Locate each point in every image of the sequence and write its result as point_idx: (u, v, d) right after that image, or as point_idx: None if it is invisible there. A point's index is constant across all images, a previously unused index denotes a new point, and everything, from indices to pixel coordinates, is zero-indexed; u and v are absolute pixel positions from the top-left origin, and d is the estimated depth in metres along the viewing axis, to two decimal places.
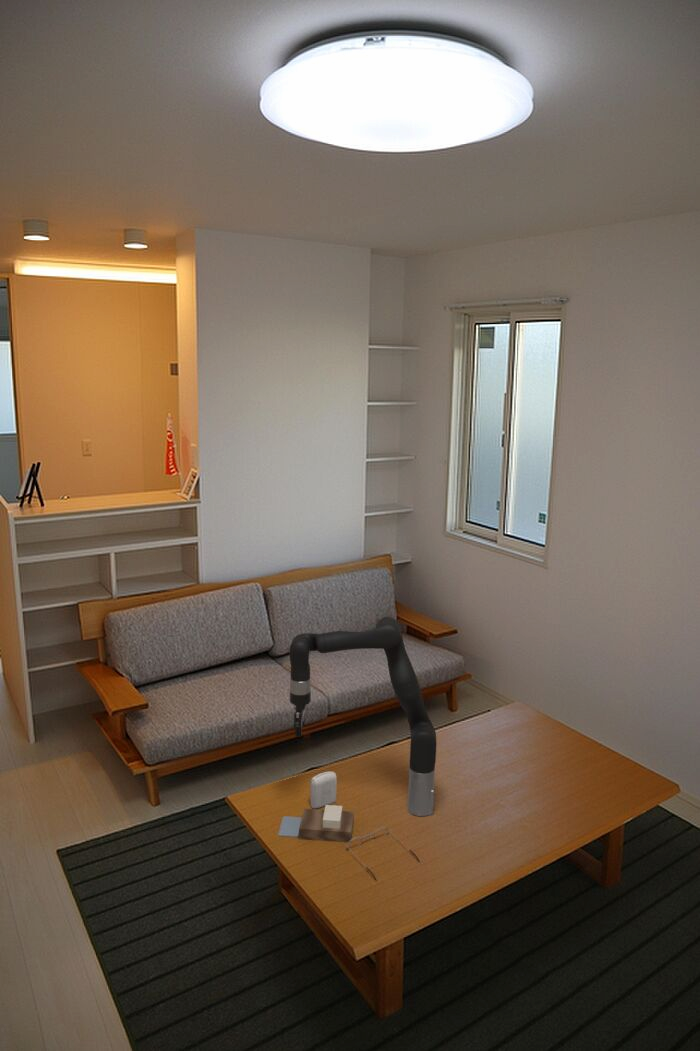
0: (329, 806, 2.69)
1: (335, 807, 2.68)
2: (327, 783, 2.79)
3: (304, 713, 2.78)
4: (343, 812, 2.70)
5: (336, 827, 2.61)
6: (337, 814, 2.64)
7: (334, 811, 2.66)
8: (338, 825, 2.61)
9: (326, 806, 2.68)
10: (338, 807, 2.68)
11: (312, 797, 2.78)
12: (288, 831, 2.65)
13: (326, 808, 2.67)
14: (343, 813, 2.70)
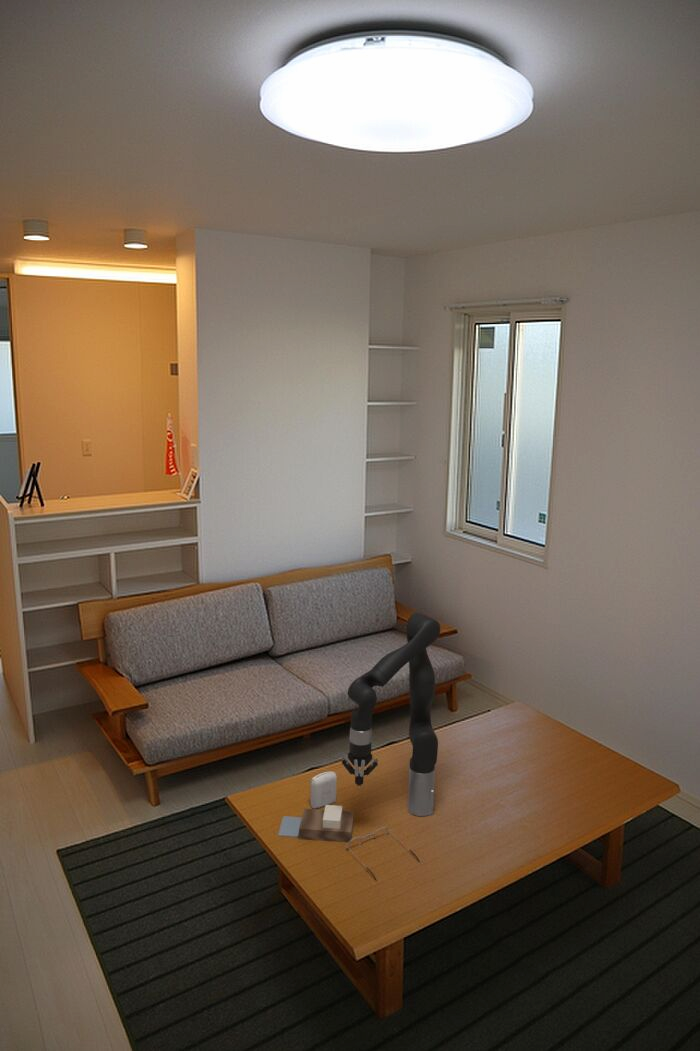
0: (329, 806, 2.69)
1: (335, 807, 2.68)
2: (327, 783, 2.79)
3: (358, 767, 2.62)
4: (343, 812, 2.70)
5: (336, 827, 2.61)
6: (337, 814, 2.64)
7: (334, 811, 2.66)
8: (338, 825, 2.61)
9: (326, 806, 2.68)
10: (338, 807, 2.68)
11: (312, 797, 2.78)
12: (288, 831, 2.65)
13: (326, 808, 2.67)
14: (343, 813, 2.70)
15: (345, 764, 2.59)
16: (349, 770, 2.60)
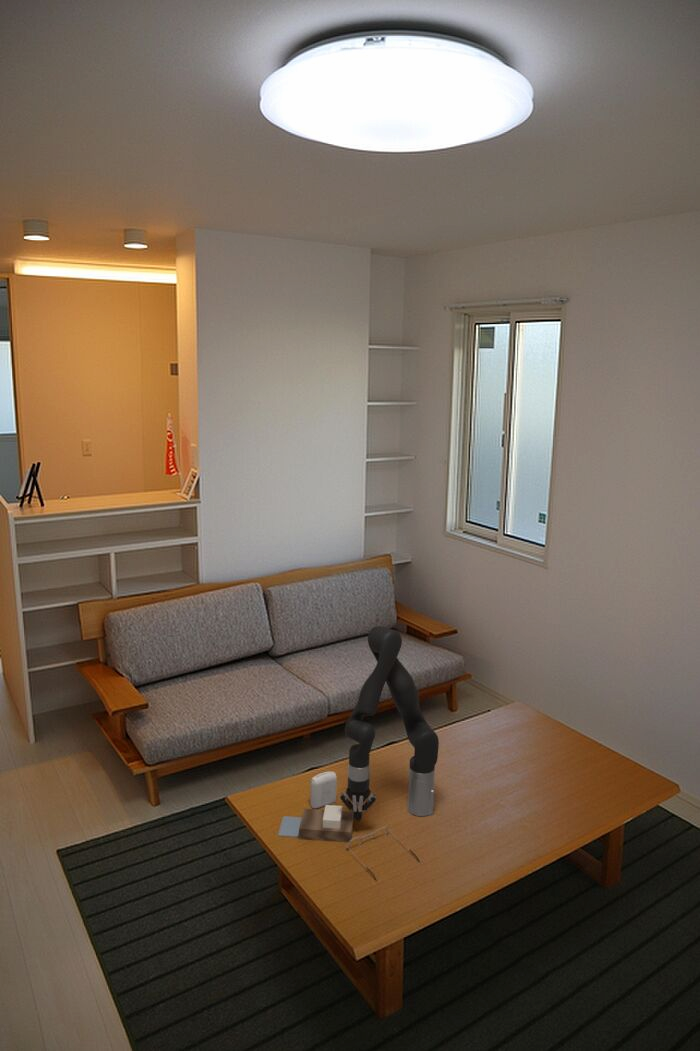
0: (329, 806, 2.69)
1: (335, 807, 2.68)
2: (327, 783, 2.79)
3: None
4: (343, 812, 2.70)
5: (336, 827, 2.61)
6: (337, 814, 2.64)
7: (334, 811, 2.66)
8: (338, 825, 2.61)
9: (326, 806, 2.68)
10: (338, 807, 2.68)
11: (312, 797, 2.78)
12: (288, 831, 2.65)
13: (326, 808, 2.67)
14: (343, 813, 2.70)
15: (343, 800, 2.62)
16: (347, 805, 2.62)
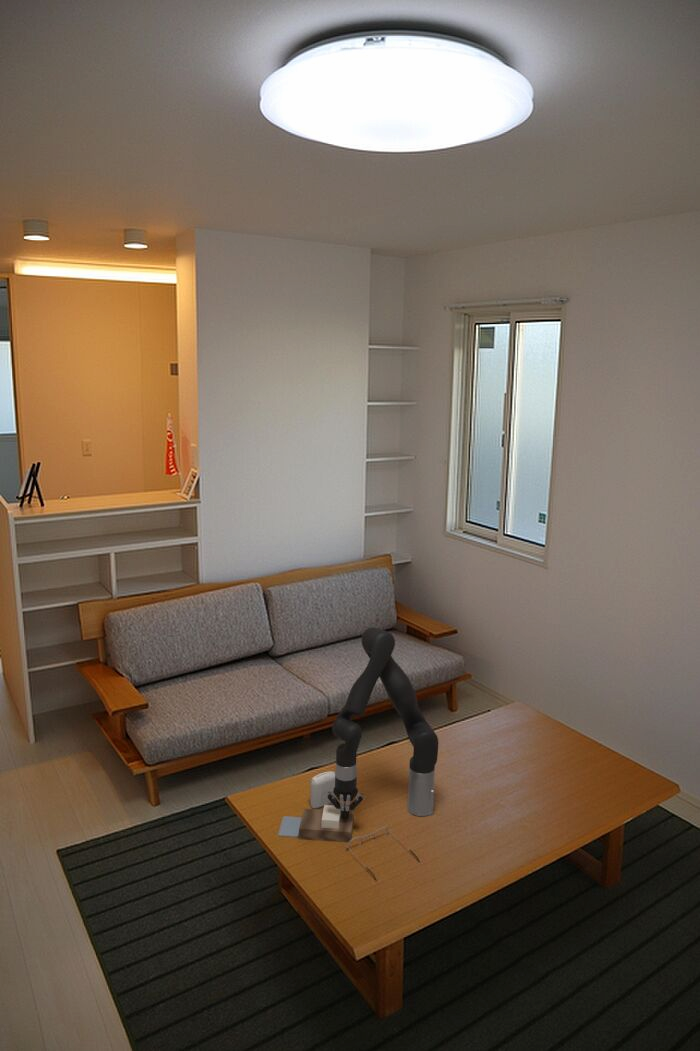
0: (327, 806, 2.69)
1: (334, 807, 2.68)
2: (327, 783, 2.79)
3: (344, 801, 2.65)
4: None
5: (335, 827, 2.61)
6: (336, 814, 2.64)
7: (333, 811, 2.66)
8: (337, 825, 2.61)
9: (325, 806, 2.69)
10: None
11: (312, 797, 2.78)
12: (288, 831, 2.65)
13: (325, 808, 2.67)
14: None
15: (331, 799, 2.62)
16: (335, 805, 2.63)
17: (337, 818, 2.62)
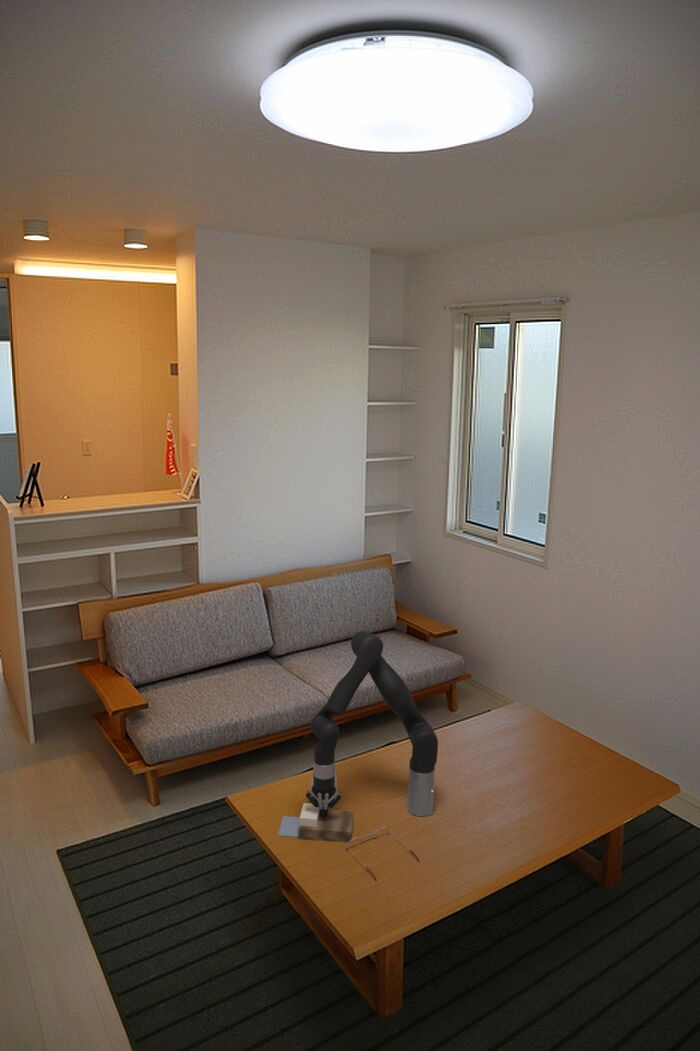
0: (307, 804, 2.69)
1: None
2: None
3: None
4: (343, 812, 2.70)
5: (313, 825, 2.62)
6: (314, 813, 2.65)
7: (312, 809, 2.66)
8: (315, 823, 2.61)
9: (304, 804, 2.69)
10: None
11: None
12: (288, 831, 2.65)
13: (304, 806, 2.68)
14: (343, 813, 2.70)
15: (309, 797, 2.63)
16: (313, 803, 2.63)
17: (315, 816, 2.62)
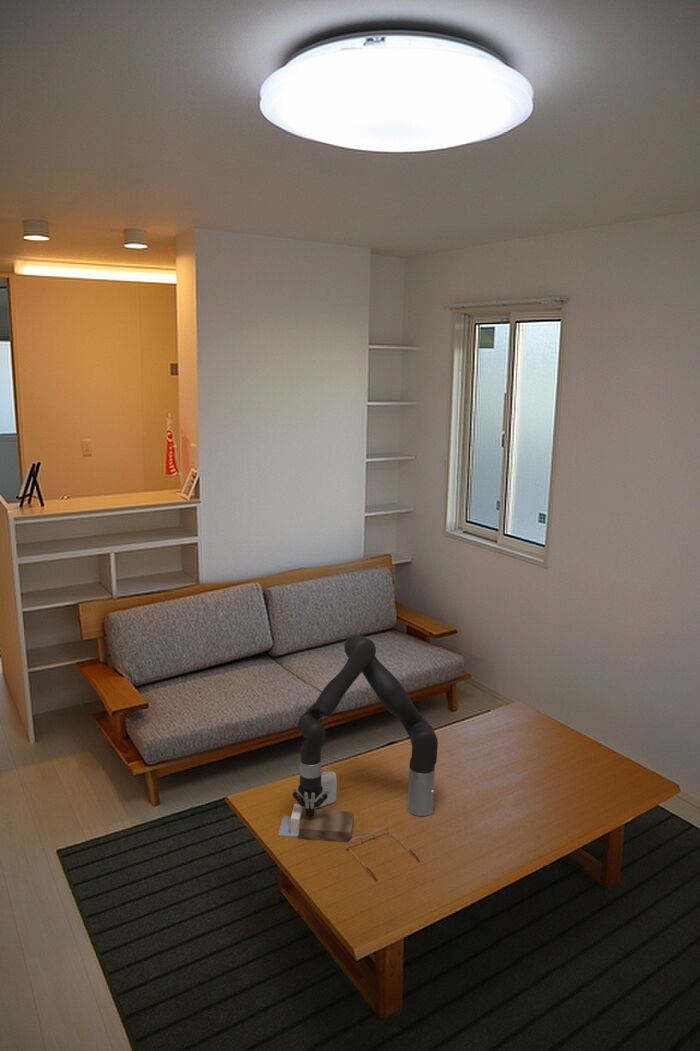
0: None
1: None
2: (327, 783, 2.79)
3: (309, 799, 2.66)
4: (343, 812, 2.70)
5: (298, 822, 2.62)
6: (292, 815, 2.66)
7: None
8: (295, 820, 2.62)
9: None
10: None
11: None
12: (288, 831, 2.65)
13: None
14: (343, 813, 2.70)
15: (296, 796, 2.63)
16: (300, 802, 2.64)
17: (291, 818, 2.64)
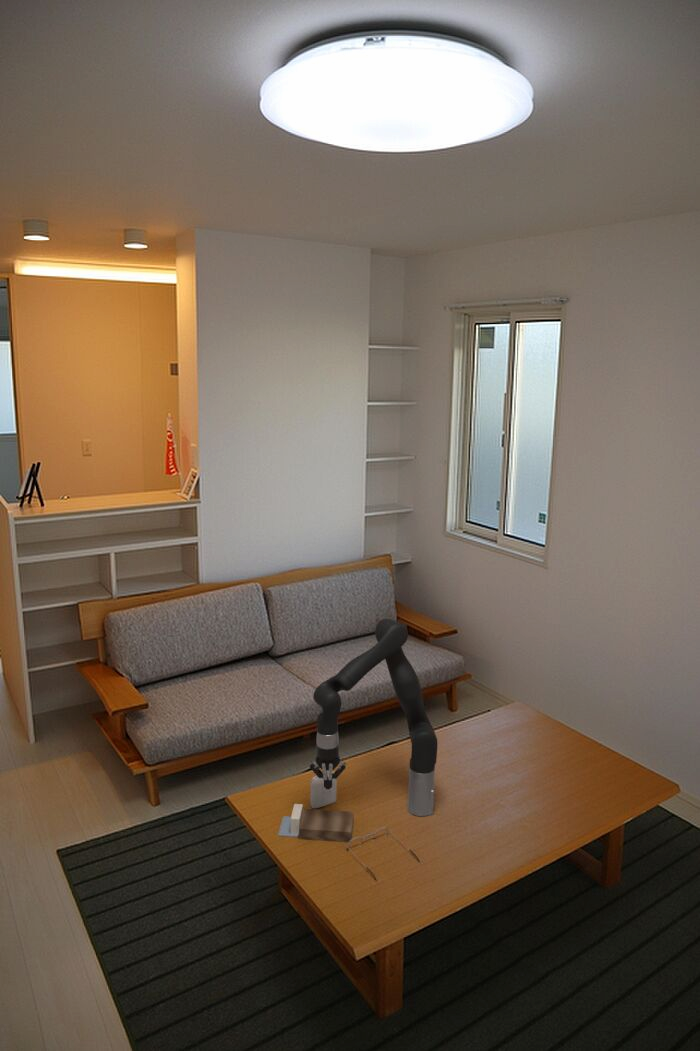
0: None
1: None
2: None
3: None
4: (343, 812, 2.70)
5: (298, 822, 2.62)
6: (292, 815, 2.66)
7: None
8: (295, 820, 2.62)
9: None
10: None
11: (312, 797, 2.78)
12: (288, 831, 2.65)
13: None
14: (343, 813, 2.70)
15: (313, 768, 2.60)
16: (317, 774, 2.60)
17: (291, 818, 2.64)
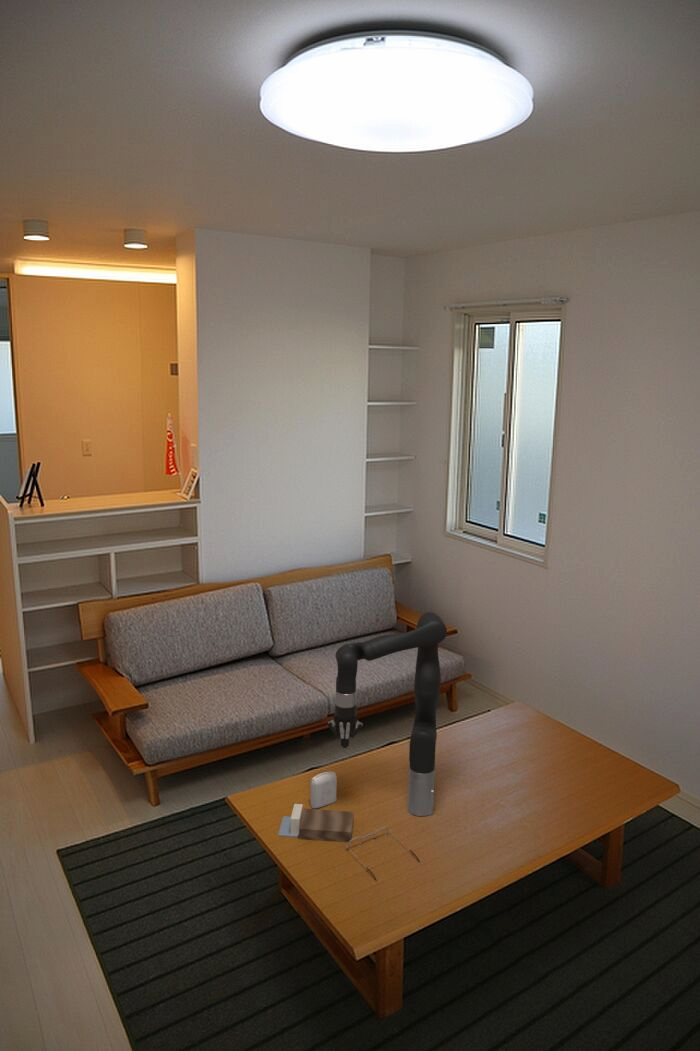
0: None
1: None
2: (327, 783, 2.79)
3: None
4: (343, 812, 2.70)
5: (298, 822, 2.62)
6: (292, 815, 2.66)
7: None
8: (295, 820, 2.62)
9: None
10: None
11: (312, 797, 2.78)
12: (288, 831, 2.65)
13: None
14: (343, 813, 2.70)
15: (331, 727, 2.67)
16: (335, 733, 2.68)
17: (291, 818, 2.64)
